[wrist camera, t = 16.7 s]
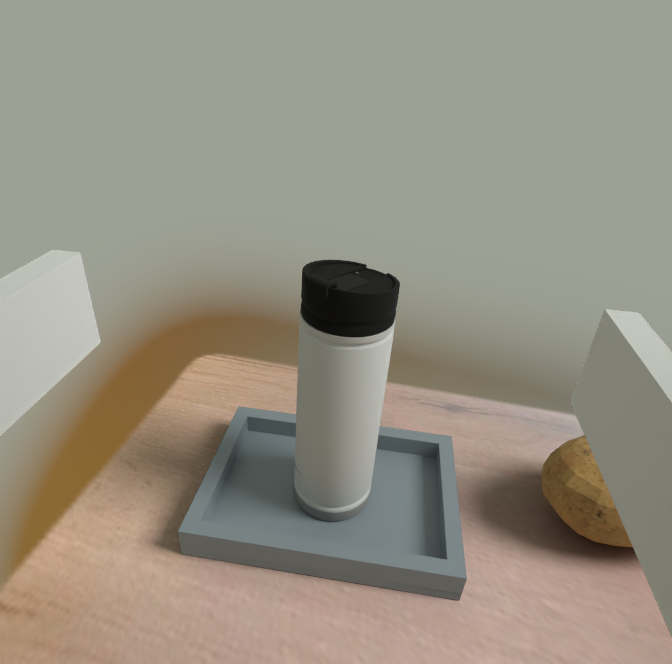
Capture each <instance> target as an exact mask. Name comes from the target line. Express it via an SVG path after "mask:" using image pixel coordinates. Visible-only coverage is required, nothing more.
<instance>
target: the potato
mask: <svg viewBox="0 0 672 664" xmlns="http://www.w3.org/2000/svg"><path fill="white" fill-rule="evenodd" d="M541 482H542V491H543V495H544V496H545V498H546V499H547V500H548V502H549V503H550V504H551V506H552V507H553V508H554V509H555V511H556V512H557V513H558V515H559V516H560V517H561V519H562V520H563V521H564V522H565V523H566V524H567V525H568V526H570V527H571V528H572V529H573V530H574V531H575V532H576V533H577V534H579V535H581V536H584V537H586V538H588V539H590V540H592V541H594V542H598V543H603V544H608V545H613V546H622V547H632V548H633V546H632V544H631V541H630V539H629V537H628V534H627V532H626V530H625V528H624V525H623V523H622V521H621V518H620V516H619V514H618V511H617V509H616V507H615V504H614V502H613V500H612V497H611V495H610V493H609V491H608V488H607V486H606V484H605V481H604V479H603V477H602V474H601V472H600V470H599V467H598V465H597V463H596V460H595V458H594V456H593V454H592V451H591V449H590V447H589V444H588V442H587V440H586V437H585V435H584V436H581V437H578V438H575V439H573V440H570V441H568V442H566V443H564V444H563V445H561V446H560V447H559V448H557V449H556V450H555V451H554V452H552V453H551V454H550V456H549V457H548V459H547V460H546V462H545V463H544V466H543V470H542V475H541Z"/></svg>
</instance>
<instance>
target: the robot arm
mask: <svg viewBox="0 0 672 664" xmlns="http://www.w3.org/2000/svg"><path fill="white" fill-rule="evenodd" d="M99 344H100V337H99V333H98V328H97V324H96V320H95V315H94V311H93V307H92V302H91V297H90V293H89V289H88V285H87V280H86V276H85V271H84V267H83V262H82V258H81V254H80V253H78V252H69V251H60V250H51V251H50V252H48V253H46V254H44V255H43V256H41V257H39V258H37V259H35V260H34V261H32V262H30V263H28V264H26V265H25V266H23V267H21V268H19V269H17V270H15V271H14V272H12V273H10V274H8V275H6V276H5V277H3V278H1V279H0V436H1V435H2V434H3V433H4V432H5V431H6V430H7V429H8V428H9V427H10V426H12V424H14V423H15V422H16V421H17V420H18V419H19V418H20V417H21V416H22V415H23V414H24V413H25V412H26V411H28V410H29V409H30V408H31V407H32V406H33V405H34V404H35V403H36V402H37V401H38V400H39V399H41V398H42V397H43V396H44V395H45V394H46V393H47V392H48V391H49V390H50V389H51V388H52V387H53V386H54V385H56V384H57V383H58V381H60V380H61V379H62V378H63V377H64V376H65V375H66V374H67V373H68V372H69V371H71V370H72V369H73V368H74V367H75V366H76V365H77V364H78V363H79V362H80V361H81V360H82V359H83V358H84V357H86V356H87V355H88V354H89V353H90V352H91V351H92V350H93V349H94V348H95V347H96V346H97V345H99ZM570 403H571V405H572V407H573V410H574V412H575V414H576V416H577V419H578V421H579V423H580V426H581V428H582V430H583V433H584V435H585V437H586V440H587V442H588V444H589V447H590V449H591V451H592V454H593V456H594V458H595V460H596V463H597V465H598V467H599V470H600V472H601V474H602V477H603V479H604V481H605V484H606V486H607V488H608V491H609V493H610V495H611V497H612V500H613V502H614V504H615V507H616V509H617V511H618V514H619V516H620V518H621V521H622V523H623V525H624V528H625V530H626V532H627V534H628V537H629V539H630V541H631V544H632V546H633V548H634V551H635V553H636V555H637V558H638V560H639V562H640V565H641V567H642V569H643V571H644V574H645V576H646V578H647V581H648V583H649V585H650V588H651V590H652V592H653V595H654V597H655V599H656V602H657V604H658V606H659V608H660V611H661V613H662V615H663V618H664V620H665V622H666V625H667V627H668V629H669V632H670V634H671V636H672V352H671V351H670V349H669V348H668V347H667V346H666V345H665V343H664V342H663V341H662V340H661V339H660V337H659V336H658V335H657V334H656V333H655V331H654V330H653V329H652V328H651V327H650V325H648V323H647V322H646V321H645V320H644V318H643V317H642V316H641V315H640V313H635V312H626V311H616V310H607V309H605V310H604V313H603V315H602V318H601V321H600V323H599V326H598V329H597V331H596V334H595V337H594V339H593V342H592V345H591V348H590V350H589V353H588V355H587V358H586V361H585V363H584V366H583V369H582V371H581V374H580V377H579V379H578V382H577V384H576V387H575V390H574V393H573V395H572V398H571V401H570Z"/></svg>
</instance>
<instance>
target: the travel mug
mask: <svg viewBox="0 0 672 664" xmlns="http://www.w3.org/2000/svg"><path fill="white" fill-rule="evenodd" d="M399 287H400V283H399V281H398V280H397V279H396V277H394V276H392V275H391V274H389V273H388V274H384V273H381V272H379V271H376V270H373V269H368V268H366V265H365V264H361V263H357V262H351V261H342V260H321V261H315V262H311V263H309V264H307V265H305V266H304V267H303V270H302V294H301V298H302V303H301V310H300V328H299V356H298V357H299V358H298V383H297V412H296V440H295V469H294V495H295V498H296V500H297V502H298V504H299V505H300V507H301V508H302V509H303V510H304V511H305V512H307V513H308V514H310V515H311V516H313V517H316V518H318V519H321V520H326V521H342V520H346V519H349V518H351V517H353V516H355V515H357V514H358V513H359V512H361V511H362V510H363V509H364V507H365V506H366V504H367V502H368V500H369V495H370V489H371V482H372V476H373V469H374V462H375V455H376V449H377V442H378V435H379V428H380V422H381V415H382V408H383V401H384V395H385V388H386V381H387V374H388V367H389V361H390V354H391V347H392V341H393V333H394V326H395V320H396V318H395V314H396V306H397V301H398V294H399Z"/></svg>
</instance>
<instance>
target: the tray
mask: <svg viewBox="0 0 672 664" xmlns="http://www.w3.org/2000/svg"><path fill="white" fill-rule="evenodd" d="M295 440H296V414H289V413H282V412H275V411H267V410H260V409H253V408H246V407H238V409H237V411H236V413H235V415H234V417H233V419H232V421H231V423H230V425H229V427H228V429H227V431H226V433H225V435H224V437H223V440H222V442H221V444H220V446H219V448H218V450H217V452H216V454H215V456H214V458H213V460H212V462H211V464H210V466H209V468H208V471H207V473H206V475H205V477H204V479H203V481H202V483H201V485H200V487H199V489H198V491H197V493H196V495H195V497H194V499H193V501H192V504H191V506H190V508H189V510H188V512H187V514H186V516H185V518H184V520H183V522H182V524H181V526H180V528H179V530H178V535H179V542H180V549H181V554H184V555H190V556H196V557H202V558H208V559H214V560H220V561H226V562H232V563H238V564H244V565H250V566H256V567H262V568H268V569H274V570H280V571H286V572H292V573H298V574H304V575H310V576H316V577H322V578H328V579H334V580H340V581H346V582H352V583H358V584H364V585H370V586H376V587H382V588H388V589H394V590H400V591H406V592H412V593H418V594H424V595H430V596H436V597H442V598H448V599H454V600H460V597H461V594H462V591H463V588H464V585H465V582H466V579H467V577H466V568H465V558H464V549H463V540H462V530H461V521H460V511H459V502H458V492H457V483H456V474H455V464H454V455H453V445H452V436H445V435H438V434H431V433H424V432H417V431H409V430H402V429H395V428H388V427H381V426H380V428H379V435H378V442H377V449H376V455H375V462H374V469H373V476H372V482H371V489H370V495H369V500H368V502H367V504H366V506H365V507H364V509H363V510H362V511H361V512H359V513H358V514H357V515H355V516H353V517H351V518H349V519H346V520H342V521H326V520H321V519H318V518H316V517H313V516H311V515H310V514H308V513H307V512H305V511H304V510H303V509H302V508H301V507H300V505H299V504H298V502H297V500H296V498H295V495H294V469H295Z"/></svg>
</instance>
